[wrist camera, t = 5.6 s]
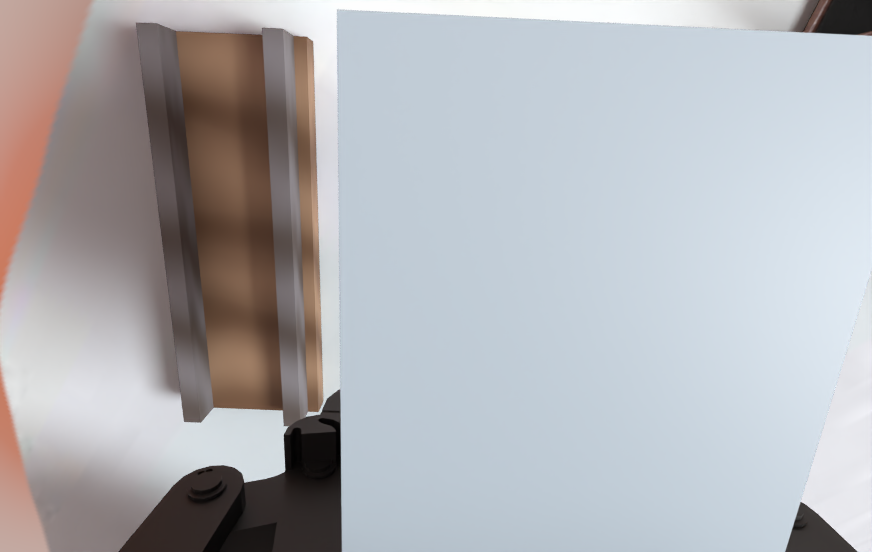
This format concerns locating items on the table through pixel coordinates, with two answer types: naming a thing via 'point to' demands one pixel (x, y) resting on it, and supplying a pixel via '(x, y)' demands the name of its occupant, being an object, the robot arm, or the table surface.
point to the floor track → (238, 215)
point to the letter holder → (841, 17)
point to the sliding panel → (592, 279)
